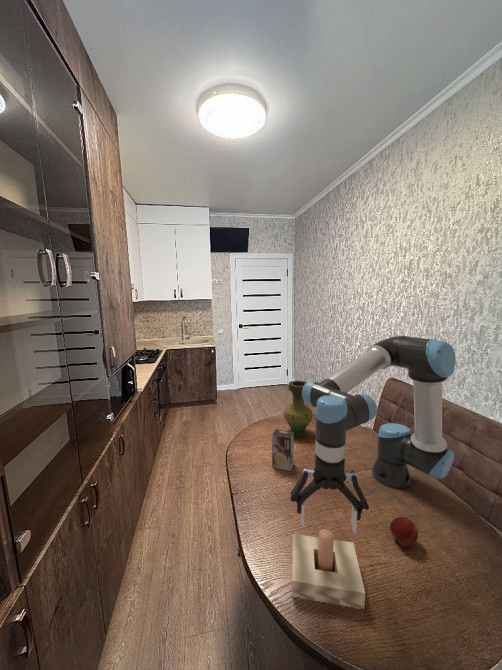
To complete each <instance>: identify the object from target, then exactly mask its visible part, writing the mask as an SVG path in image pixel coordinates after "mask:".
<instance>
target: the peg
mask: <svg viewBox="0 0 502 670" xmlns="http://www.w3.org/2000/svg"><path fill="white" fill-rule="evenodd" d="M318 538H319V543H318V564H317V568H316V570H322V571H329V572H333V567H332V565H333V545H334V540H335V536H334V534H333V532H332V531H331V530H329V529H327V528H326V529H325V528H322V529H320V531H319V532H318Z"/></svg>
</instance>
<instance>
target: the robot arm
mask: <svg viewBox="0 0 502 670" xmlns="http://www.w3.org/2000/svg"><path fill="white" fill-rule="evenodd" d="M456 360H457V358H456V353H455V349H454V348H453V346H452V345H451V344H450V343H449V342H447V341H443V340H438V339H435V338H431V339H430V338H424V337H423V338H422V337H413V336H407V335H397V336H395V335H394V336H391V337H388V338H385V339H382V340H380V341H378V342H375V343H374V344H372V345H371V346H369V347H368V348H367V349H366V352H365V353H363V354H362V355H360V356H359V357H357V358H356V359H354V360H353V361H351V362H349V363H348V364H346V365H345V366H342V368H340V369H338V370H337V371H335V372H334V373H332V374H331V375H329V376H328V377H326V378H324V379H322V380H321V381H320V382H318V381H312V380H311V381H306V382H307V383H306V384H305V385H304V387H303V389H302V397H303V400H304V403H306V404H308V405H309V406H311V407H313V408H315V412H314V415H315V445H314V446H315V449H314V469H313V470H312V469H308V467H307V466H303V468H302V474H301V475H300V477H299V479H298V480H297V482H296V483H295V485H294V486H293V489H292V490H291V492H290V502H292V503H294V502H295V503H296V512H297V514H299V515H300V523H301V524H300V525H301V527H302V528H304V527H305V501H307V500H308V499H309V498H310V497H311V496H312V495H313V494H315V493H316V492H317V491H319V490H320V489H321V488H322V489H323V490H329V489H330V490H332V491H336V490H338V491H339V492H340V493H341V494H343V496H344V497H345V498H346V499H347V500H348V501H349V503H351V519H350V521H351V522H350V525H351V529H352V533H353V534H357V524H358V521H361V519H362V518H361V517H362V514H363V510H365V511H368V510H369V509H370V505H369V503H368V500H367V498H366V496H365V495H364V492H363V491H362V488H361V487H360V484H359V482H358V477H357V474H356V472H355V471H354V470H351V471H350V472H346V471H345V463H346V442H347V441H346V437H347V436H346V435H347V431H349V430H352V429H355V428H356V427H359V426H361V425H363V424H367V423H368V422H370V421H372V420H373V419H374V418H375V417H376V416H377V414H378V407H377V404H376V401H375V400H374V399H373V397H371V396H370V395H368V394H365V393H357V394H355V395H353V394H351V393H349V392H350V391H352V390H353V389H354V388H356V387H357V386H359V385H360V384H362V383H364V381H366V380H367V379H369V378H370V377H371V376H373V375H375V374H376V373H377V372H379V371H380V370H385V369H388V368H389V367H398V368H403V369H407V375H408V378H409V379H410V380H412V382H413V384H412V385H413V388H412V389H413V411H414V412H413V413H414V414H413V415H414V416H413V418H414V433H412V431H411V429H410V428H409V427H408V426H406V425H404V424H400V423H395V422H394V423H392V422H391V423H389V422H388V423H384V424H382V425H381V426H379V430H378V435H377V436H378V440H377V455H376V458H375V460H374V461H373V463H372V465H371V474H372V477H373V478H374V479H375V480H376V481H378V482H379V483H382V484H383V485H385V486H387V487H390V488H394V489H404V488H405V489H406V488H408V487H409V486H410V485H411V482H412V481H411V479H412V475H411V472H410V469H409V466H410V467H412V468H414V469H416V470H417V471H420V472H422V473H424V474H426V476H429V477H432V478H435V479H437V480H442V479H444V478H445V477H446V476H447V475H448V473H449V471H450V470H451V467H452V465H453V462H454V459H455V453H454V452H453V450H451V449H448V443H447V440H446V439H445V438H443V383H444V382H446V381H447V380H448V377H451V376H452V375H453V374H454V372H455V369H456V367H455V366H456V363H457V361H456ZM311 477H313V479H312V481H311V482H310V483H309V484H307V486H306V483H307V482H308V480H309V479H310V478H311ZM346 480H348V482H349V483H350V484H352V487H353V488H354V491H355V493H356V495H357V496H358V498H359V499H358V498H357V497H356V495H354V493H353V492H352V491H351V490H350V488H349V487H348V486H347V485H346V484H345V482H346ZM304 487H305V488H304Z"/></svg>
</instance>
